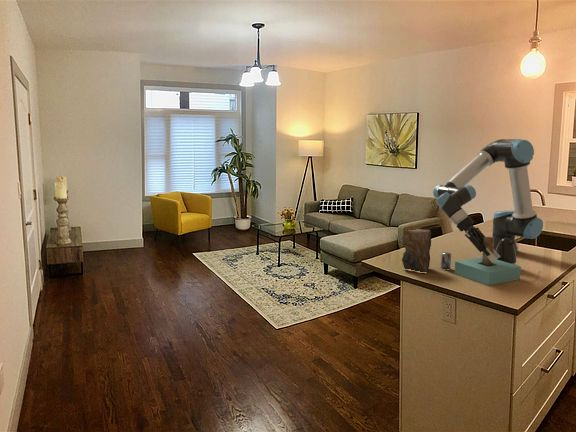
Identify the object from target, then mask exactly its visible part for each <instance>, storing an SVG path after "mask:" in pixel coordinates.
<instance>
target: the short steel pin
mask: <svg viewBox="0 0 576 432" xmlns="http://www.w3.org/2000/svg"><path fill="white" fill-rule="evenodd" d="M440 255H441V257H440V259H441V260H440V269H441V268H442V269H450V270H451V268H452V267H451V266H452V264H451V263H452V253H451V252H448V251H444V252H443V251H442V252H441V254H440ZM442 269H441V270H442Z"/></svg>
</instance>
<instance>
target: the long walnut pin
mask: <svg viewBox="0 0 576 432" xmlns="http://www.w3.org/2000/svg"><path fill="white" fill-rule="evenodd" d="M483 244H484V246H485V247H486V248H488V249H489V250H490V251H491V253H492V254H493V249H494V238H493V237H492V236H485V237H484V240H483ZM481 257H482V265H484V266H492V264H493V262H491V261H490V260H489V259H488V258H487V256H486V255H485V254H484V253H483V252H482V256H481Z"/></svg>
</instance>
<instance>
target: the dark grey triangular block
mask: <svg viewBox="0 0 576 432" xmlns="http://www.w3.org/2000/svg"><path fill="white" fill-rule="evenodd" d="M514 244H515V242H512V241H511V240H510V239H509V238H503V239H502V240H501V241H500V242H499V244H498V246H497V248H496V252H497V253H498V254H499V256H500V257H499V258H498V259H497V260H500V261H503V262H507V263H511V264H514V265H516V263H517V253H516V252H515V248H514Z"/></svg>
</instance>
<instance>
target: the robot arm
mask: <svg viewBox="0 0 576 432" xmlns="http://www.w3.org/2000/svg"><path fill="white" fill-rule="evenodd" d="M534 148H535V147H534V146H533V144H532V143H531V142H530V141H529V140H526V139H522V138H517V139H516V138H515V139H514V138H512V139H511V138H510V139H509V138H506V139H505V138H503V139H500V138H499V139H497V140H495V141H492V142H490V143H488V144H487V145H486V146H484V147H482V148H481V149H480V150H479V151H478V152H477V155H476V156H475V157H474V158H473V159H472V160H471V161H469V162H468V163H467V164H466V165H465V166H464V167H462V168H461V169H460V170H459V171H457V173H456V174H454V175H453V176H452V177H451V178H450V179H448V181H446V182H445V183H444V184H443V185H442V184H439V185H436V186H435V187H433V191H432V193H433V196H434V198H435V199H436V200H435V202H436V205H437V206H438V207H439V208H440V210H441V211H442V212H443V213H444V214H445V215H446V216H447V217H448V218H449V220H450V222H451V223H453V224H454V225H456V228H457V229H458V231H460V232H465V234H464V237H466V238H467V239H468V240H469V241H470V243H471V244H472V245H473V246H474V247H475V248H476V249H477V250H478V251H479V253H482V254H483V253H484V254H485V255H486V256H487V258H488V259H489V260H490V261H491V262H494V261H495V260H497V259H498V258H499V257H500V256H499V254H498V253H497V252H496V248H497V246H498V244H499V242H500V241H501V240H502V239H503V238H509V239H510V240H511V241H512V242H515V244H514V248H515V252H516V254H517V253H518V246H517V242H516V237H521V238H524V239H530V240H533V239H535V238H537V237H539V236H540V235H541V233H542V232H543V228H544V221H543V220H542V219H541V218H540V217H538V215H537V214H538V213H537V211H536V210H534V209H533V203H532V202H533V201H532V194H531V185H530V179H529V177H530V176H529V171H528V166H529V165H530V164H531V161H532V160H533V158H534V155H535V149H534ZM498 162H503V163H504V168H505V169H507V170H508V173H509V174H508V175H509V181H510V187H511V195H512V201H513V202H512V203H513V209H514V210H500V211H494V214H493V217H492V236H491V237H493V238H494V249H493V254H492V253H491V251H490V250H489V249H488V248H486V247H485V246H484V244H483V240H484V237H486V235H485V234H484V233H483V232H482V231H481V230H480V228H479V227H476V226H474V225H473V224H474V220H473V219H472V217H470V216H469V215H468V212H466V211H465V210H464V208H463V207H462V206H464V205H466V204H468V203H469V202H471V201H472V200H473V199H475V198H476V196H477V191H476V189H475V187H474V186H472V185H471V184H469V182H471V181H472V180H473V179H474V178H475V177H477V176H478V175H479V174H480V173H481V172H482V171H483V170H485V169H486V168H487V167H491V166H492V165H494V164H495V163H498Z"/></svg>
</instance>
